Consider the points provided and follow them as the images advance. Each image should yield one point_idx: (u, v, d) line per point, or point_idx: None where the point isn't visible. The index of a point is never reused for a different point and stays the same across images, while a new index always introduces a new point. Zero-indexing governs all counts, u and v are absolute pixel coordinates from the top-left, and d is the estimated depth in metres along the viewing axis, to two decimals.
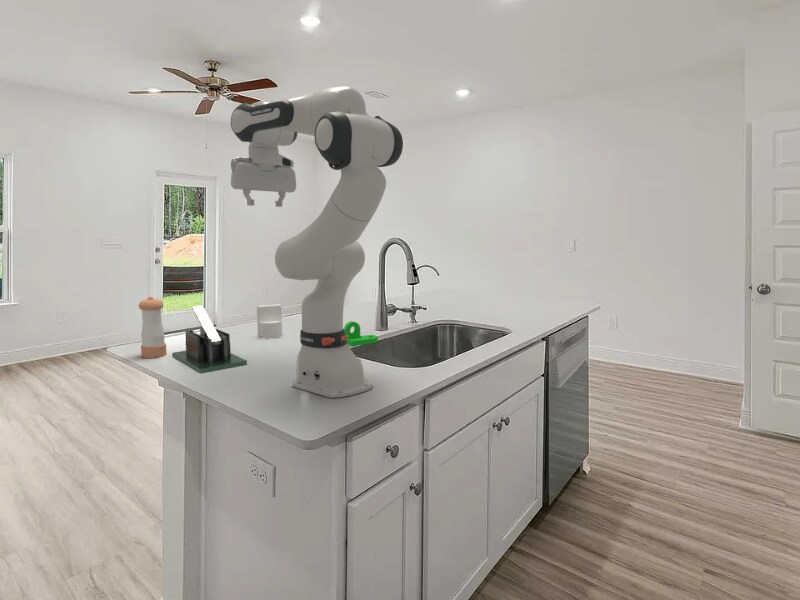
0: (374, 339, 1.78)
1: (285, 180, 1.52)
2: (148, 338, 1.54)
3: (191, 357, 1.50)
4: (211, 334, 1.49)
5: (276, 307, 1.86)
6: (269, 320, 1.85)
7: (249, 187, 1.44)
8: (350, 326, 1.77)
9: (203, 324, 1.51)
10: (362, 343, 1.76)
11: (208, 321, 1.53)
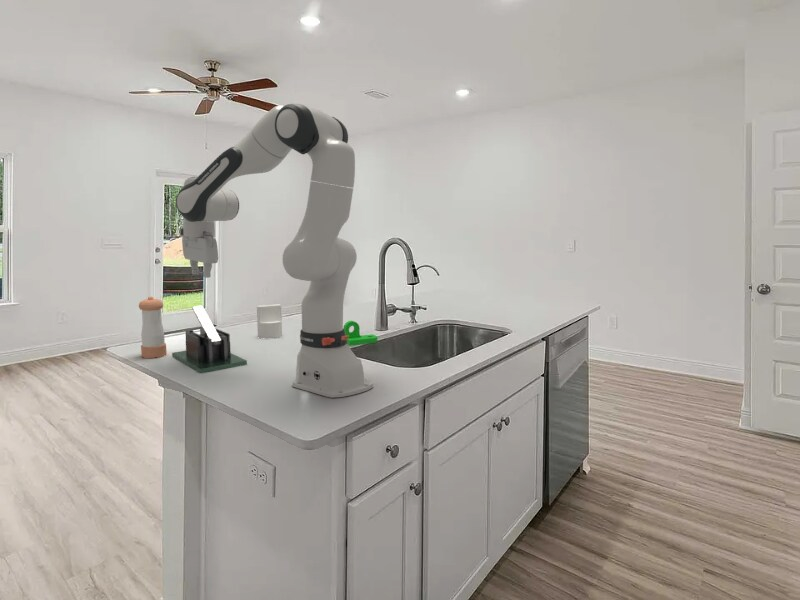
0: (373, 339, 1.79)
1: None
2: (148, 338, 1.54)
3: (191, 357, 1.50)
4: (211, 334, 1.49)
5: (276, 307, 1.86)
6: (269, 320, 1.85)
7: None
8: (348, 325, 1.78)
9: (203, 324, 1.51)
10: (360, 343, 1.77)
11: (208, 321, 1.53)
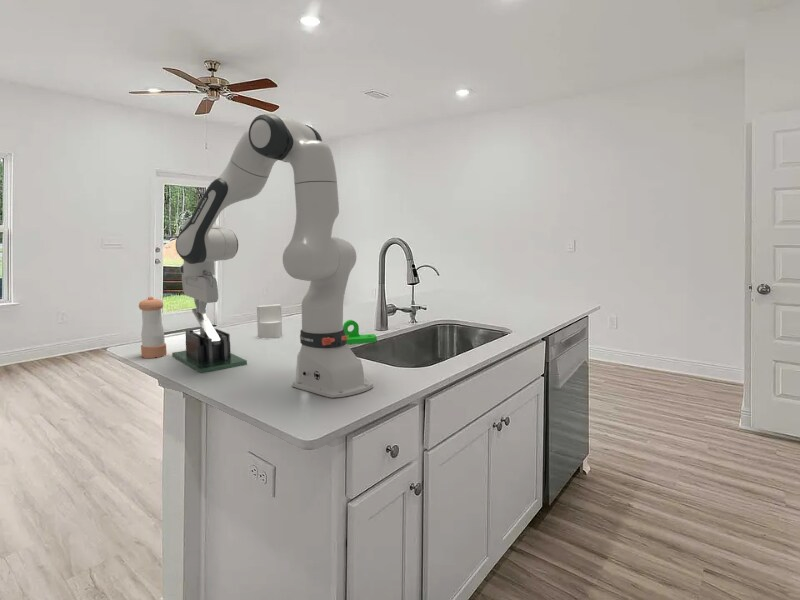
0: (371, 338, 1.79)
1: None
2: (148, 338, 1.54)
3: (191, 357, 1.50)
4: (211, 334, 1.49)
5: (276, 307, 1.86)
6: (269, 320, 1.85)
7: None
8: (347, 324, 1.80)
9: (203, 325, 1.51)
10: (358, 342, 1.78)
11: (208, 322, 1.53)
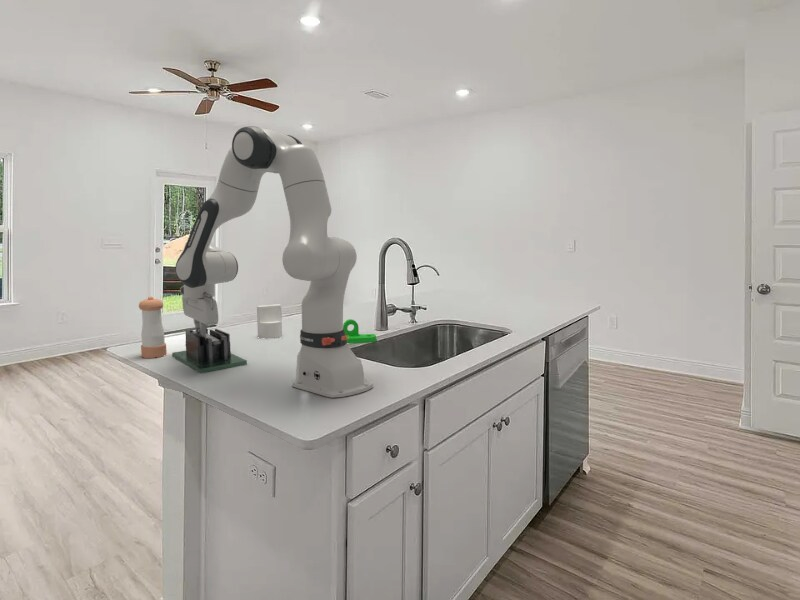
0: (370, 338, 1.80)
1: None
2: (148, 338, 1.54)
3: (191, 357, 1.50)
4: None
5: (276, 307, 1.86)
6: (269, 320, 1.85)
7: None
8: (347, 324, 1.81)
9: None
10: (356, 341, 1.78)
11: (207, 334, 1.54)
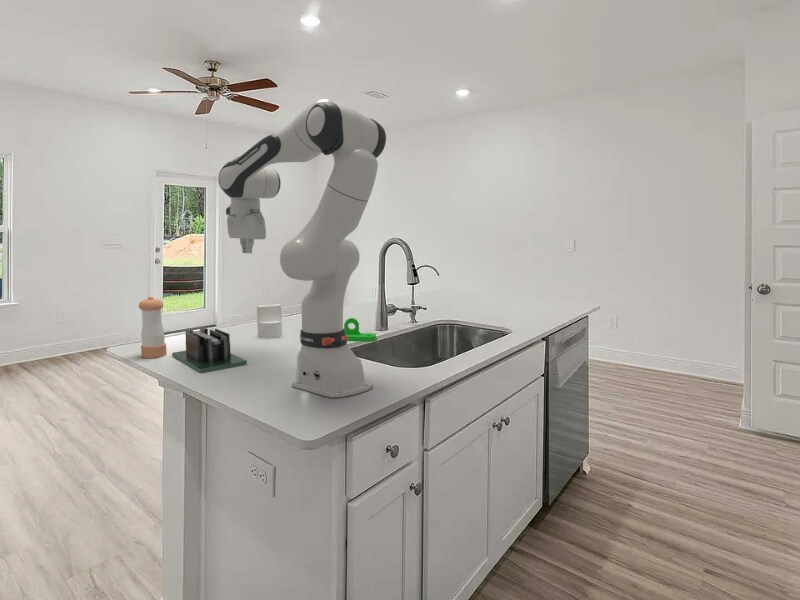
0: (368, 337, 1.81)
1: None
2: (148, 338, 1.54)
3: (191, 357, 1.50)
4: None
5: (276, 307, 1.86)
6: (269, 320, 1.85)
7: None
8: (347, 322, 1.84)
9: None
10: (354, 340, 1.81)
11: (207, 335, 1.54)
